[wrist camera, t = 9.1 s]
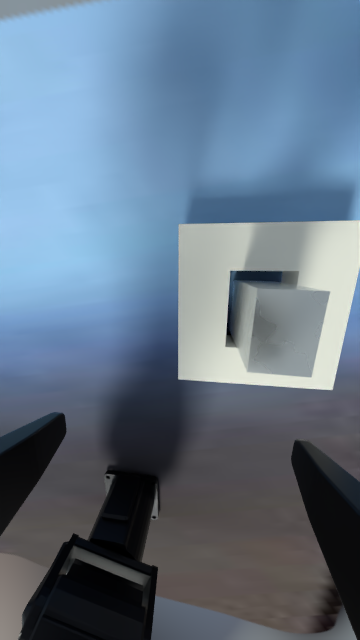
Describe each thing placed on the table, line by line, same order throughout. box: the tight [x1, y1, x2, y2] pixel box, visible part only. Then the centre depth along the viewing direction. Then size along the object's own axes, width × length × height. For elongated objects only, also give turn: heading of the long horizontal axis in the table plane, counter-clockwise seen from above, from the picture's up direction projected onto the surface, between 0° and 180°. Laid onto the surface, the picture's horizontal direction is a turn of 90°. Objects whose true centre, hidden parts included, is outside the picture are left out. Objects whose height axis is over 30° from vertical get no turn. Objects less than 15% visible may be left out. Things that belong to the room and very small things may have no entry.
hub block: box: [178, 220, 360, 390], centre depth 16 cm, size 12×12×3 cm
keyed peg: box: [229, 280, 330, 378], centre depth 14 cm, size 3×5×8 cm
